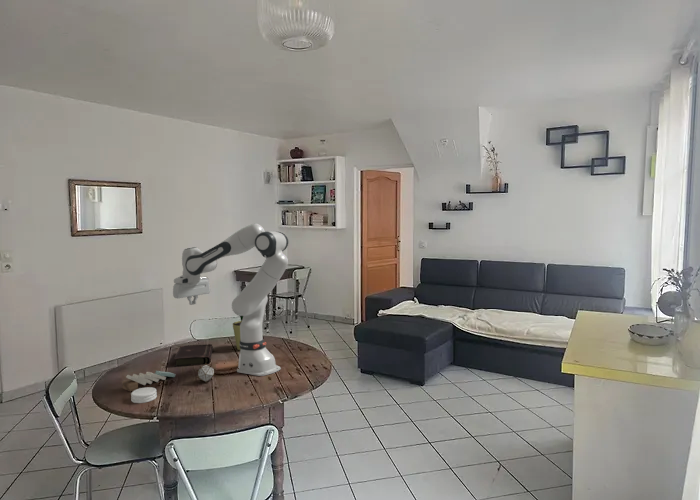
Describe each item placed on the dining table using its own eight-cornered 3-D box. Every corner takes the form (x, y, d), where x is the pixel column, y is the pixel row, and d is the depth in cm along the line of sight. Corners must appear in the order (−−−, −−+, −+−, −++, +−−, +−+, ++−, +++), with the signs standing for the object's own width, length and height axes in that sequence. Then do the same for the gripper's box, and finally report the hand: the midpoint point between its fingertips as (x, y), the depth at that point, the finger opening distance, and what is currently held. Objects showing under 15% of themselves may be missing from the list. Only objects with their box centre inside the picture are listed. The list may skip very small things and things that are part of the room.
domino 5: (175, 374, 223) (160, 372, 217) (174, 377, 223) (159, 375, 217) (170, 372, 226) (155, 370, 220) (169, 375, 226) (154, 373, 219)
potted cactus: (265, 346, 274) (264, 296, 272) (247, 352, 261) (245, 300, 259) (246, 342, 282) (245, 294, 280) (227, 349, 269) (225, 298, 267)
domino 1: (146, 382, 212) (132, 376, 206) (145, 385, 211) (130, 379, 206) (141, 380, 214) (127, 374, 209) (140, 383, 214) (125, 377, 209)
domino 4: (166, 377, 219) (151, 373, 214) (165, 380, 219) (150, 376, 213) (161, 375, 222) (146, 371, 216) (160, 378, 222) (145, 374, 216)
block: (138, 389, 207) (137, 382, 207) (130, 391, 205) (130, 384, 204) (130, 386, 212) (130, 379, 211) (122, 388, 209) (122, 381, 209)
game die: (203, 390, 215) (190, 377, 210) (204, 378, 222) (191, 365, 217) (220, 380, 215) (207, 367, 210) (220, 369, 222) (208, 355, 217)
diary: (213, 352, 267) (212, 343, 266) (210, 365, 243) (210, 356, 242) (178, 354, 263) (178, 345, 262) (172, 368, 238) (172, 358, 238)
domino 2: (152, 381, 214) (138, 375, 209) (151, 384, 213) (136, 378, 208) (147, 379, 217) (133, 373, 211) (146, 382, 216) (132, 376, 211)
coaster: (160, 394, 202) (159, 386, 202) (152, 403, 192) (151, 395, 192) (136, 395, 201) (136, 387, 201) (127, 404, 191) (126, 396, 191)
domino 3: (159, 379, 217) (144, 374, 211) (157, 382, 216) (143, 377, 211) (154, 377, 219) (140, 372, 214) (152, 380, 219) (138, 375, 213)
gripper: (205, 275, 253) (206, 300, 253) (170, 280, 236) (171, 306, 237) (212, 276, 249) (213, 301, 250) (177, 281, 233) (178, 308, 234)
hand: (192, 304), depth 243 cm, fingers closed
